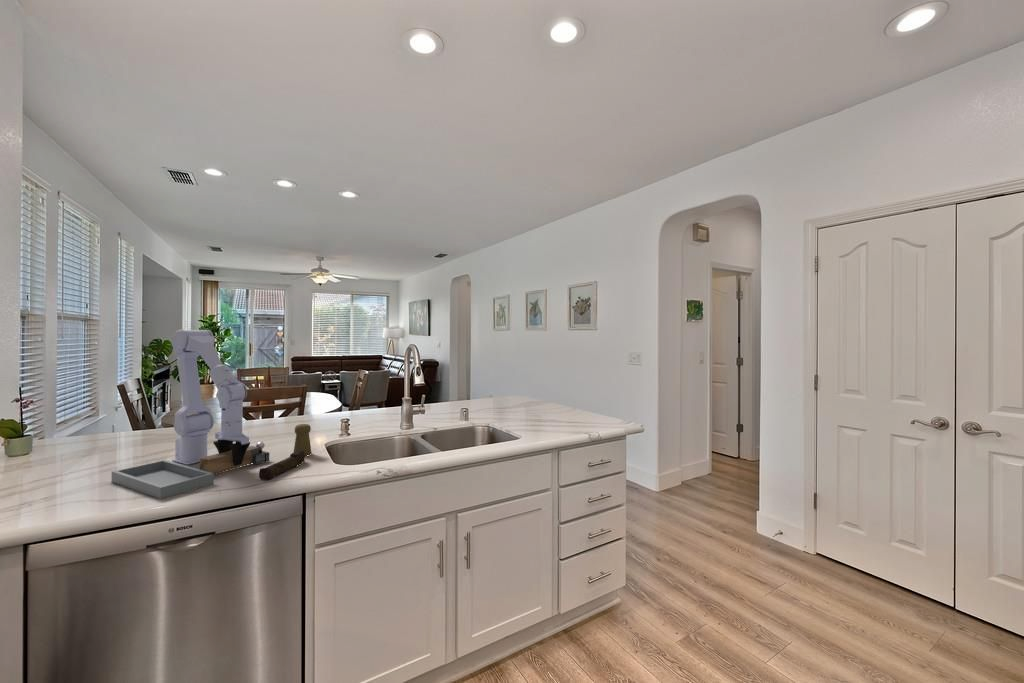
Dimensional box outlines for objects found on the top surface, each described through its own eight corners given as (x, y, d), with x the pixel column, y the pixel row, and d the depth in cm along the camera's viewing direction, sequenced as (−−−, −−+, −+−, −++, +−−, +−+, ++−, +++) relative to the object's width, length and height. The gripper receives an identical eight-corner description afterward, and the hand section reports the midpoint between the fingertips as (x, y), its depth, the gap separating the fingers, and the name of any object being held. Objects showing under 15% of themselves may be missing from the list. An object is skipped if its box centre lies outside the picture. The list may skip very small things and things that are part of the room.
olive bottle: (297, 452, 155) (297, 422, 155) (314, 452, 156) (314, 422, 155) (289, 457, 149) (290, 426, 149) (307, 457, 149) (308, 426, 149)
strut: (200, 474, 130) (200, 458, 130) (251, 460, 145) (251, 445, 145) (207, 476, 129) (208, 459, 128) (258, 462, 143) (259, 447, 143)
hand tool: (269, 482, 126) (270, 466, 126) (257, 480, 127) (258, 465, 127) (311, 463, 144) (312, 449, 144) (301, 462, 145) (301, 448, 145)
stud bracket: (241, 461, 144) (241, 442, 143) (256, 457, 148) (256, 439, 148) (256, 464, 140) (256, 446, 140) (271, 460, 145) (271, 442, 145)
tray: (111, 481, 122) (111, 471, 122) (164, 469, 134) (164, 459, 134) (160, 499, 111) (160, 487, 111) (213, 483, 123) (213, 473, 123)
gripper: (205, 420, 136) (204, 463, 136) (233, 426, 130) (232, 470, 130) (228, 417, 142) (227, 457, 143) (255, 422, 136) (255, 464, 136)
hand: (231, 463), depth 137 cm, fingers open, 6 cm apart
